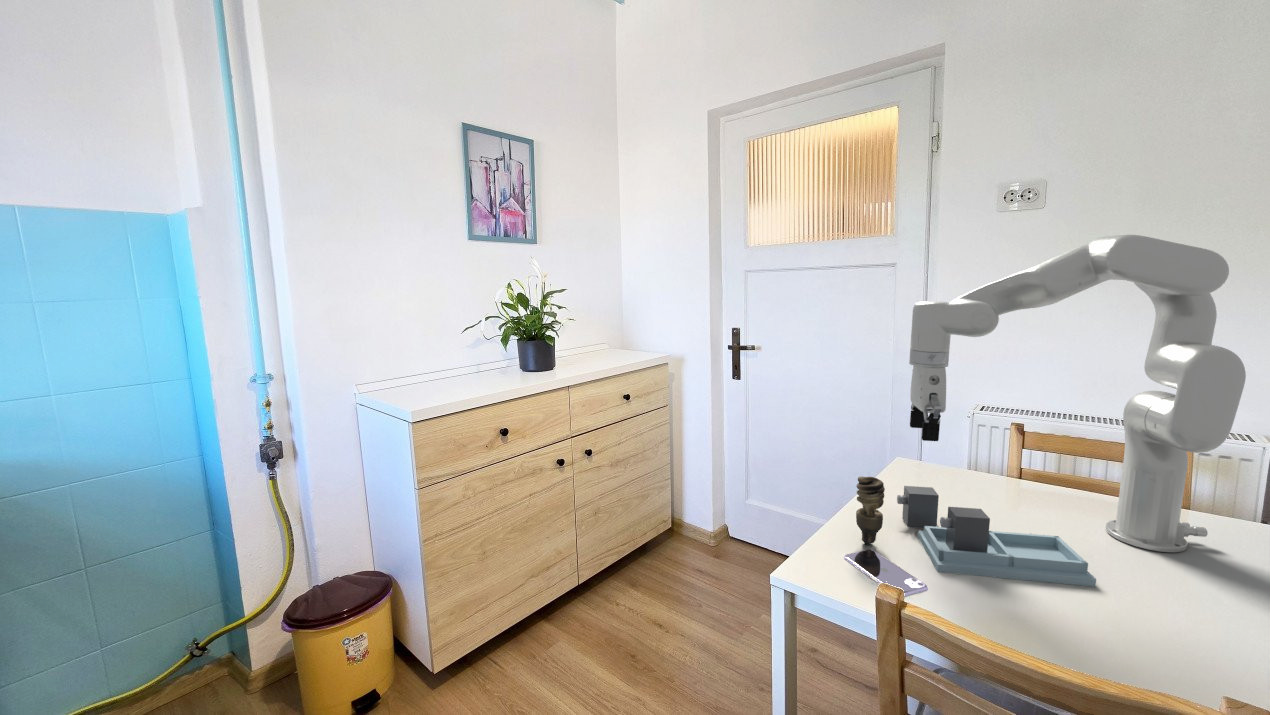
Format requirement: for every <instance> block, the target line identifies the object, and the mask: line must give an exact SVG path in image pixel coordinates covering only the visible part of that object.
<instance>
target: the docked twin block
mask: <svg viewBox="0 0 1270 715" xmlns="http://www.w3.org/2000/svg"><path fill="white" fill-rule="evenodd" d="M939 521H940V522H939V523H940V524H939V525H940V527H942V528H947V531H946V544H947V546H948V547H949V549H950V550H959V551H970V552H982V553H987V549H988V537H989V531H990V522H991V518H990V517H989V516H988V515H987V514H986V512H984V510H983V509H982V508H976V507H975V508H973V507H961V506H960V507H958V506H948V507H947V517H944V516H942V517H940V519H939Z"/></svg>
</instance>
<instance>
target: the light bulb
mask: <svg viewBox="0 0 1270 715" xmlns="http://www.w3.org/2000/svg"><path fill="white" fill-rule="evenodd" d="M857 481H858V482H857V484H856V488H857V489H858V490H857V491H856V494H857V496H856V500H857V502H858V503H860V504H861V505H862V508H859V509H857V510H856V513H855V514H856V515H855V521H856V525H857V528H859V530H860V531H861V541H862V542H863V544H864V545H865V546H870V545H871V544H873V543H875V541H877V533H879V531H880V530H882V527H883V523H884V522H883V521H884V514H883V513H882V511H880V510H878V509H880V508H881V507H882V506H883V505H884V503H885V501H884V498H885V491H886V490H885V489H886V488H885V485H884V482H883V481H882V480H881V479H878V478H877V477H875V476H858V478H857Z"/></svg>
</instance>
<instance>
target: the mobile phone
mask: <svg viewBox="0 0 1270 715" xmlns="http://www.w3.org/2000/svg"><path fill="white" fill-rule="evenodd" d="M843 559H844V560H845V559H846V560H848V561H849V562H850V563H851V565H852V564H853V565H854V567H855V566H856V567H857V568H859V569H860V570H862V571H863V572H864V573H866V574H868V575H869V576H871V577H873V578H875V579H876V580H877V581H878V583H888V584H890V585H893V586H896V587H900V588H902V589H903V590H904V593H905V596H904V597H907V596H912V595H915V594H918V593H922V592H926V591H928V590H929V587H928V585H927V584H926V583H924V582H923V581H921V580H920V579H918V578H917V577H915V576H913V574H911V573H909V572H908V571H906V570H904V569H903V568H901V567H900V566H899V565H897V564H895V563H894V562H892V561H890V560H889V559H887V558H886V557H885V556H883V555H881V554H880V553H878V552H876V550H873V549H864V550H860V551H856V552H855V551H854V552H850V553H846V554H844V556H843ZM846 560H845V561H846ZM848 561H847V562H848ZM849 562H848V563H849ZM850 563H849V564H850ZM853 565H852V566H853ZM856 567H855V568H856ZM857 568H856V569H857ZM859 569H858V570H859ZM860 570H859V571H860ZM862 571H861V572H862ZM863 572H862V573H863ZM864 573H863V574H864ZM866 574H865V575H866ZM886 581H887V582H886ZM878 583H877V584H878Z"/></svg>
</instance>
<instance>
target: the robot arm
mask: <svg viewBox="0 0 1270 715" xmlns="http://www.w3.org/2000/svg"><path fill="white" fill-rule="evenodd" d="M1229 275H1230V267H1229V264H1228V262H1227V260H1226V258H1224V257H1223V256H1222V255H1221V254H1220V253H1217V252H1215V251H1214V250H1211V249H1207V248H1203V247H1199V246H1198V247H1197V246H1193V245H1189V244H1188V245H1187V244H1184V243H1183V244H1182V243H1178V242H1173V241H1169V240H1163V239H1160V238H1154V237H1150V236H1145V235H1139V234H1122V235H1121V234H1120V235H1119V234H1118V235H1110V236H1109V235H1107V236H1102V237H1101V236H1100V237H1098V238H1094V239H1092V240H1088V241H1087V242H1085V243H1082V244H1080V245H1078V246H1075V247H1074V248H1072V249H1069V250H1067V251H1064V252H1063V253H1061V254H1058V255H1056V256H1054V257H1052V258H1050V259H1048V260H1045V261H1043V262H1040V263H1038V264H1036V265H1034V266H1031V267H1030V268H1026V269H1024V270H1022V271H1018V272H1016V273H1013V274H1011V275H1009V276H1007V277H1004V278H1001V279H998V280H995V281H993V282H990V283H987V284H985V285H983V286H980V287H978V288H976V289H973V290H971V291H969V292H967V293H964V294H963V295H960V296H958V297H957V298H954V299H953V300H951V301H950V302H947V301H937V300H932V301H931V300H927V301H926V300H925V301H923V300H922V301H919V302H916V303H915V304H914V305H913V307H912V315H911V316H912V318H911V329H910V330H911V331H910V334H911V335H910V346H909V347H910V348H909V362H908V364H909V365H911V366H913V367H912V370H911V371H912V373H911V381H910V402H911V406H910V416H909V427H910V428H912V429H921V440H922V441H923V442H939V438H940V425H941V413H945V412H946V407H947V371H946V370H947V369H946V368H947V367H949V360H950V359H949V358H950V348H951V347H950V346H951V336H952V335H956V336H962V337H970V338H979V337H980V338H981V337H985V336H987V335H989V334H991V333H992V332H994V330H996V328H997V326H998V325H999V322H1000V317H999V316H1001V315H1004V314H1007V313H1011V312H1016V311H1020V310H1026V309H1027V310H1028V309H1037V308H1042V307H1046V306H1051V305H1054V304H1056V303H1058V302H1060V301H1063V300H1065V299H1068V298H1070V297H1072V296H1074V295H1076V294H1078V293H1081V292H1083V291H1087V289H1090V288H1092V287H1095V286H1097V285H1099V284H1102V283H1103V282H1107V281H1109V280H1110V281H1111V280H1114V281H1115V280H1116V281H1126V282H1127V281H1128V282H1132V283H1134V285H1135V286H1136V287H1137V288H1138V289H1139V290H1141V291H1142V292H1143V293H1144V294H1146V295H1147V297H1148V298H1149V299H1150V301H1151V302H1152V305H1153V307H1154V311H1155V316H1154V318H1155V319H1154V325H1153V329H1152V334H1151V337H1150V341H1149V344H1148V349H1147V352H1146V356H1145V359H1144V360H1145V361H1144V372H1145V374H1146V376H1147V377H1148V378H1149V379H1150V381H1153V382H1155V383H1158V384H1160V385H1161V386H1166V387H1169V388H1172V389H1176V393H1171V392H1168V391H1162V390H1147V391H1142V392H1140V393H1139V392H1138V393H1137V394H1135V395H1133V396H1132V397H1131V398H1130V399H1128V401H1127V402H1126V404H1125V406H1124V409H1123V413H1122V416H1123V418H1122V419H1123V420H1122V421H1123V422H1122V423H1123V429H1124V430H1123V431H1124V452H1123V453H1124V456H1123V463H1122V469H1121V470H1122V471H1121V477H1120V486H1119V492H1118V493H1119V494H1118V503H1117V509H1116V510H1117V511H1116V519H1113V520H1110V521H1108V522H1106V523H1105V531H1106V532H1107V534H1109V535H1110V536H1111V537H1113V538H1114V539H1117V540H1118V541H1121V542H1123V543H1125V544H1128V545H1131V546H1134V547H1137V548H1140V549H1145V550H1147V551H1154V552H1161V553H1179V552H1180V553H1181V552H1184V551H1186V550H1187V548H1188V541H1187V540H1186V539H1185V538H1188V537H1189V536H1193V537H1200V538H1201V537H1203V538H1206V537H1207V536H1208V535H1209V534H1208V533H1209V532H1208V530H1207V528H1205V527H1203V526H1193V525H1192V526H1191V525H1190V523H1189V522H1185V521H1181V520H1180V519H1181V514H1182V506H1183V500H1184V493H1185V484H1186V477H1187V473H1188V465H1189V464H1188V463H1189V462H1188V460H1189V459H1188V458H1189V457H1188V452H1189V453H1193V454H1194V453H1196V454H1198V453H1199V454H1204V453H1208V452H1211V451H1213V450H1215V449H1217V448H1219V447H1220V446H1221V445H1223V444H1224V442H1225V441H1226V439H1228V437H1229V435H1230V433H1231V430H1232V427H1233V424H1234V421H1235V418H1236V416H1237V412H1238V409H1239V406H1240V401H1241V398H1242V394H1243V391H1244V388H1245V383H1246V379H1247V377H1246V376H1247V375H1246V368H1245V365H1244V362H1243V360H1242V359H1241V358H1240V357H1239V355H1238V354H1237V353H1236V352H1234V351H1232V350H1230V349H1228V348H1225V347H1222V346H1219V345H1213V337H1214V333H1215V327H1216V323H1217V318H1218V317H1217V315H1218V313H1217V306H1216V303H1215V300H1214V297H1213V296H1212V294H1211V293H1213V292H1216V291H1217V290H1219V289H1220V288H1221V287H1222V286H1223V285H1224V284H1225V283H1226V282H1227V280H1228V278H1229Z"/></svg>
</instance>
